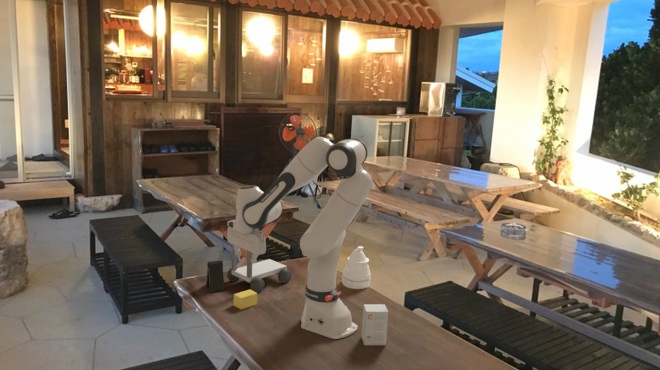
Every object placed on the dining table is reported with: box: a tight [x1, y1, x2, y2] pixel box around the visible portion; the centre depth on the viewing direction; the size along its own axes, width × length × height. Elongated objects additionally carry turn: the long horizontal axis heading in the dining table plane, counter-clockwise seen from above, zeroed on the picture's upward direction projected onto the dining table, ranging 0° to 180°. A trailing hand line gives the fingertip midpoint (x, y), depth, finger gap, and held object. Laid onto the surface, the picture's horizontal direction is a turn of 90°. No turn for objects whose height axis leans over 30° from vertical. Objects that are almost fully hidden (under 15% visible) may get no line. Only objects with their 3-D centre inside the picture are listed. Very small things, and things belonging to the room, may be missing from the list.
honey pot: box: [341, 245, 372, 290], centre depth 245 cm, size 13×13×18 cm
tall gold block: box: [233, 288, 258, 310], centre depth 218 cm, size 5×8×5 cm, turn 135°
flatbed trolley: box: [226, 244, 293, 294], centre depth 241 cm, size 22×18×21 cm
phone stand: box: [205, 260, 225, 293], centre depth 232 cm, size 9×6×12 cm, turn 25°
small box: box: [361, 303, 389, 346], centre depth 193 cm, size 8×6×13 cm
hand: (245, 259), depth 214 cm, fingers open, 8 cm apart
